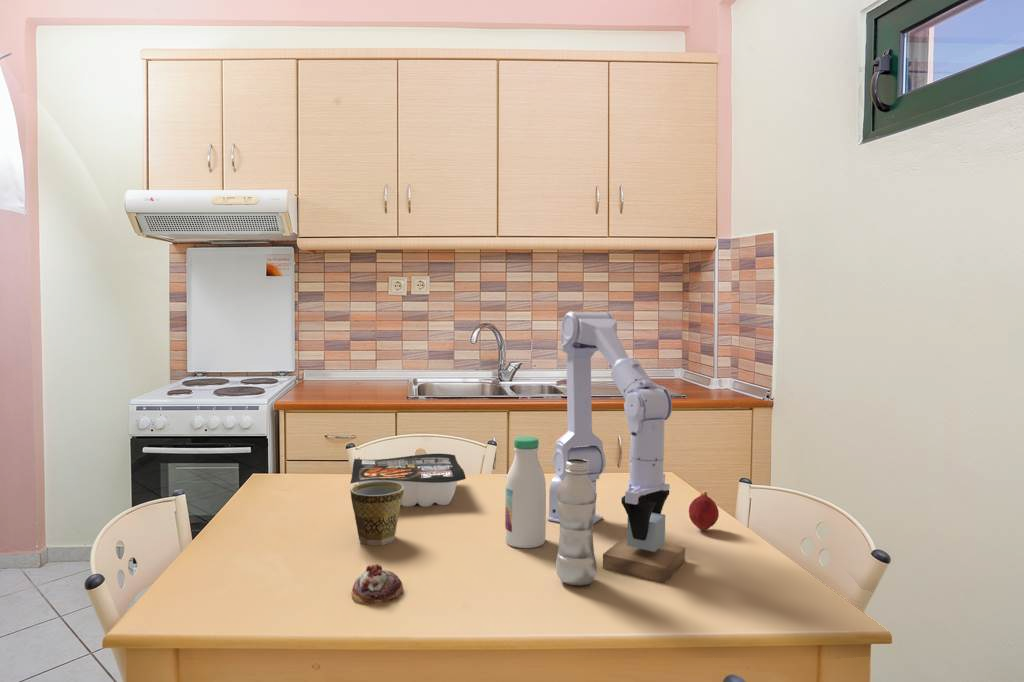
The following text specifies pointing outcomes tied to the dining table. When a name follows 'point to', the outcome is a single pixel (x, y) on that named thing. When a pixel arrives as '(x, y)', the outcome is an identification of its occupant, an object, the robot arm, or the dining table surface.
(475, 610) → the dining table surface
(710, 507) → the onion
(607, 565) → the base
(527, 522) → the milk bottle
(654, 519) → the cube
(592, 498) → the plastic bottle
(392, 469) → the food packaging
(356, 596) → the pastry
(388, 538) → the ceramic cup
